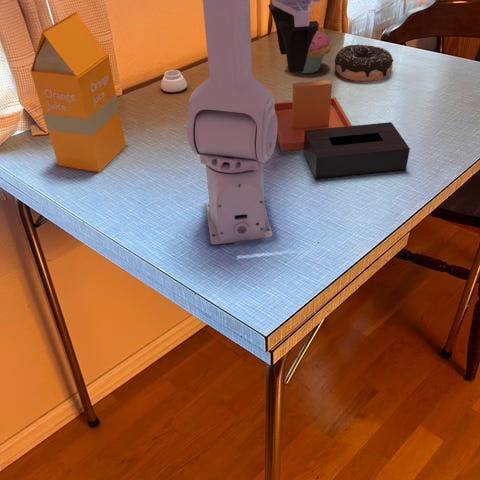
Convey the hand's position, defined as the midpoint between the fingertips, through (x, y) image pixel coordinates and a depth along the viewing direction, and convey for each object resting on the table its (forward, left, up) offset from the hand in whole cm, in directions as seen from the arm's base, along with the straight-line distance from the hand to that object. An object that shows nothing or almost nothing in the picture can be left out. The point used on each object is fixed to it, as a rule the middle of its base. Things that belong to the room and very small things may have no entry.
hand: (291, 62), depth 88 cm
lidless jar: (+20, +19, -11) cm, 30 cm away
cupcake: (+24, -8, -11) cm, 27 cm away
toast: (-2, -3, -10) cm, 10 cm away
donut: (+20, -18, -11) cm, 29 cm away
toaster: (-15, -7, -10) cm, 19 cm away
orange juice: (-4, +33, -11) cm, 35 cm away
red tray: (-2, -3, -10) cm, 11 cm away
